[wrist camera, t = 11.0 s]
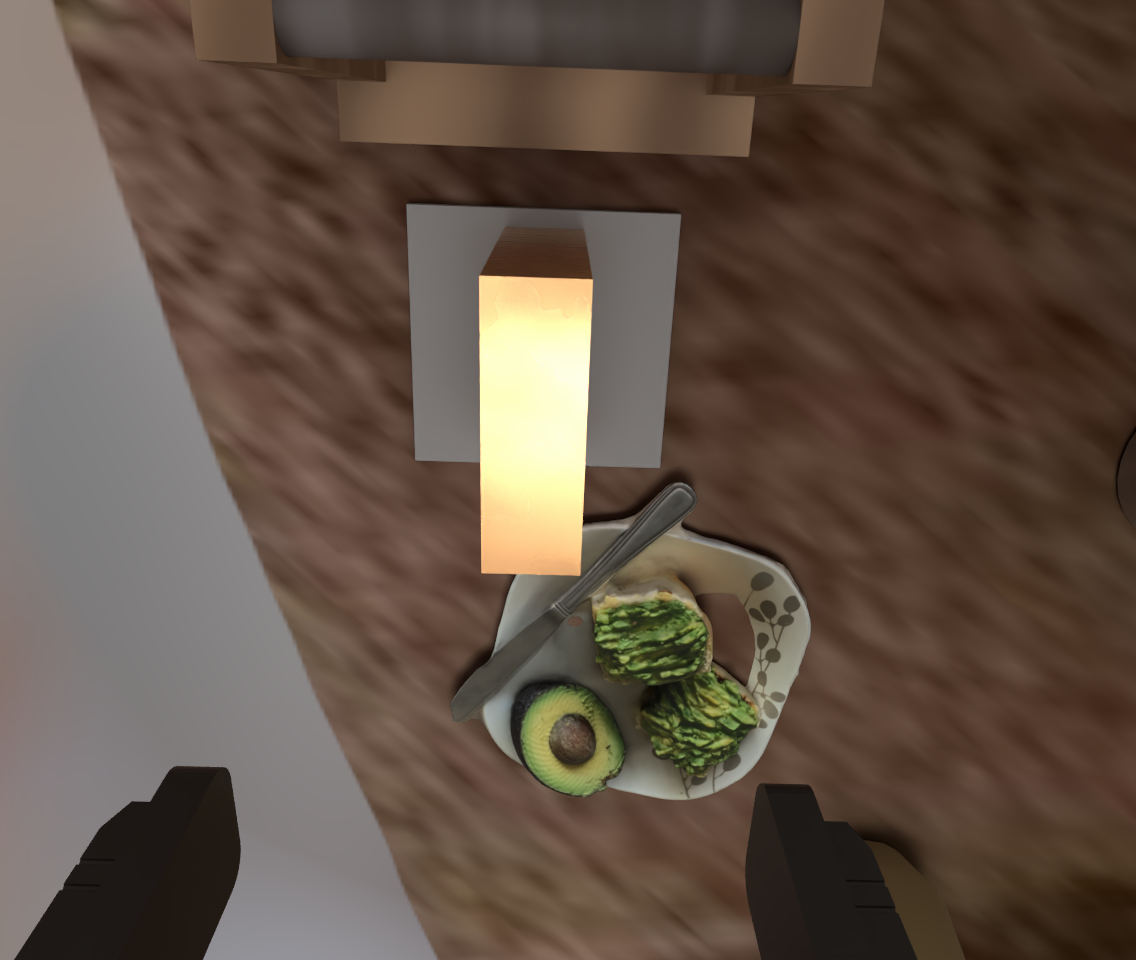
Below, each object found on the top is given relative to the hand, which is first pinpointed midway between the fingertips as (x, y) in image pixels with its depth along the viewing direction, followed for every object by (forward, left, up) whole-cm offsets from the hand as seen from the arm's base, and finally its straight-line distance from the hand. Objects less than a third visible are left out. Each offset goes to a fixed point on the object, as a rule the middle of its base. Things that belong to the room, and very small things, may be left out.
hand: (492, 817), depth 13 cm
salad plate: (-5, +18, -31) cm, 36 cm away
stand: (0, -12, -30) cm, 32 cm away
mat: (0, 0, -30) cm, 30 cm away
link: (0, 0, -29) cm, 29 cm away
